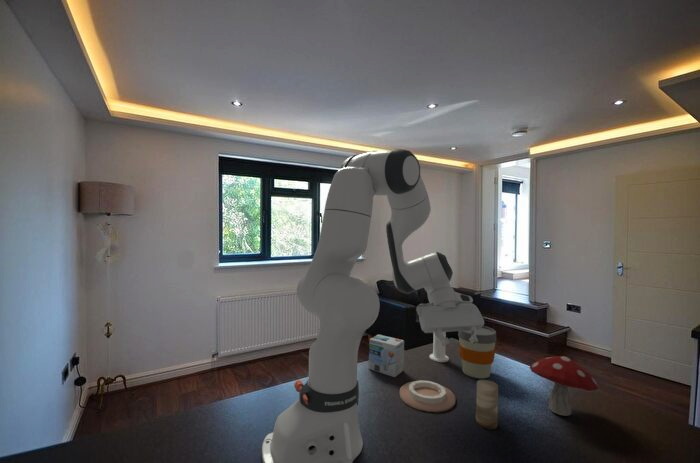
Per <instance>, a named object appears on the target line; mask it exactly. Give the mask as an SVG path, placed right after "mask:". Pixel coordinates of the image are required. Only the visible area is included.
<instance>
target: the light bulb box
mask: <svg viewBox="0 0 700 463" xmlns="http://www.w3.org/2000/svg"><path fill="white" fill-rule="evenodd" d="M368 345H369V346H368V348H369V349H368V351H369V352H368V369H369V370H371V371H374V372H378V373H381V374H383V375H386V376H390V377H391V378H392V377H393V378H396V377H397V376H399V375H400V374H401V373H403V371H404V361H405V359H404V358H405V357H404V356H405V340H403V339H399V338H395V337H391V336H386V335H382V334H376V335H375V336H373V337H371V338H370V339H369V344H368Z"/></svg>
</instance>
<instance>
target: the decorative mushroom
mask: <svg viewBox="0 0 700 463" xmlns="http://www.w3.org/2000/svg"><path fill="white" fill-rule="evenodd" d="M529 369H530V371H531V372H532V373H534V374H535V375H537V376H539V377H541V378H543V379H545V380H548V381H551V382H553V383H554V386H553V388H552V391H551V393H550V396H549V404H548V405H549V406H548V408H549V409H550V411H552V412H553V413H554V414H557V415H559V416H565V417H567V416H571V415H572V402H571V398H570V393H569V389H568V388H572V389H576V390H579V391H580V390H581V391H583V392H588V393H591V392H596V391H597V390H599V384H598V381H597V380H596V379H595V378H594V377H593V375H592V374H591V373H590V372H589V371H588V370H586V369H585V367H582V366H581V365H580V364H578V363H577V362H576V361H574V360H573V359H571V358H569V357H568V356H564V355H557V356H551V357H545V358H541V359H539V360H536V361H535V362H532V363H531V364H530V366H529Z"/></svg>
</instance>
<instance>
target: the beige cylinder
mask: <svg viewBox="0 0 700 463" xmlns="http://www.w3.org/2000/svg"><path fill="white" fill-rule="evenodd" d="M498 404H499V385H498V384H497V383H496V382H494V381H492V380H488V379H479V380H477V381H476V409H475V423H476V424H477V425H478V426H480V428H483V429H486V430H495V429H497V428H498V425H499V423H498V421H499V420H498V407H499V406H498Z"/></svg>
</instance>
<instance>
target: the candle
mask: <svg viewBox="0 0 700 463" xmlns="http://www.w3.org/2000/svg"><path fill="white" fill-rule="evenodd" d="M446 333H447V332H441V334H442V335H443V336H444V337H445V338H447V337H446V336H447V334H446ZM432 348H433V350H432V353H430V354H429V359H430V360H431V361H433V362H436V363H447V362H449V360H450V359H449V356H447V355H446V346H443V345H442V342H441V341H440V340H439V339H438V338H437V337H436V336H435V333H433V345H432Z"/></svg>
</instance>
